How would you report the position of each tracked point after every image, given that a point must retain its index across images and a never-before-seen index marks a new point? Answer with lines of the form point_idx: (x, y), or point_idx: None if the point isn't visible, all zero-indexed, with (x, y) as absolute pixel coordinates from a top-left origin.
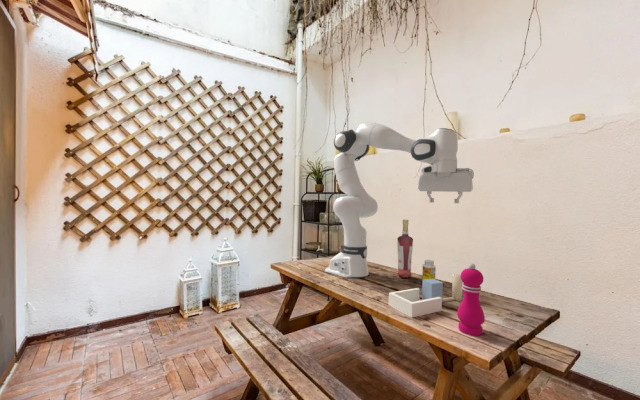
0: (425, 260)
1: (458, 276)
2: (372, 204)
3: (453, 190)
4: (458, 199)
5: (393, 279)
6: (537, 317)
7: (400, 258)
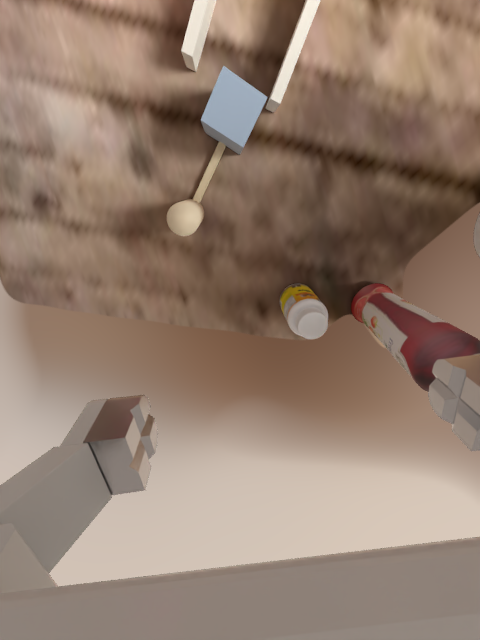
0: (324, 319)
1: (178, 214)
2: None
3: (34, 612)
4: (67, 441)
5: (390, 255)
6: (10, 221)
7: (411, 305)
